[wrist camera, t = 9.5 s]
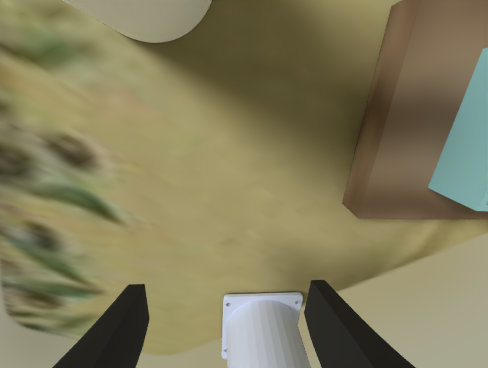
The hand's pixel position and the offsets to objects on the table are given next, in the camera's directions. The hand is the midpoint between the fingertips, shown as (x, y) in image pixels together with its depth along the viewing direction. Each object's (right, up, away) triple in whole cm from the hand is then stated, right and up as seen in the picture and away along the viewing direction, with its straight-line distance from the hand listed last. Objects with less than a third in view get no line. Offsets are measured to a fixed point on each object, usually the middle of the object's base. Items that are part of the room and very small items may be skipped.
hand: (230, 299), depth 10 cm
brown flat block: (+16, +10, +8) cm, 20 cm away
